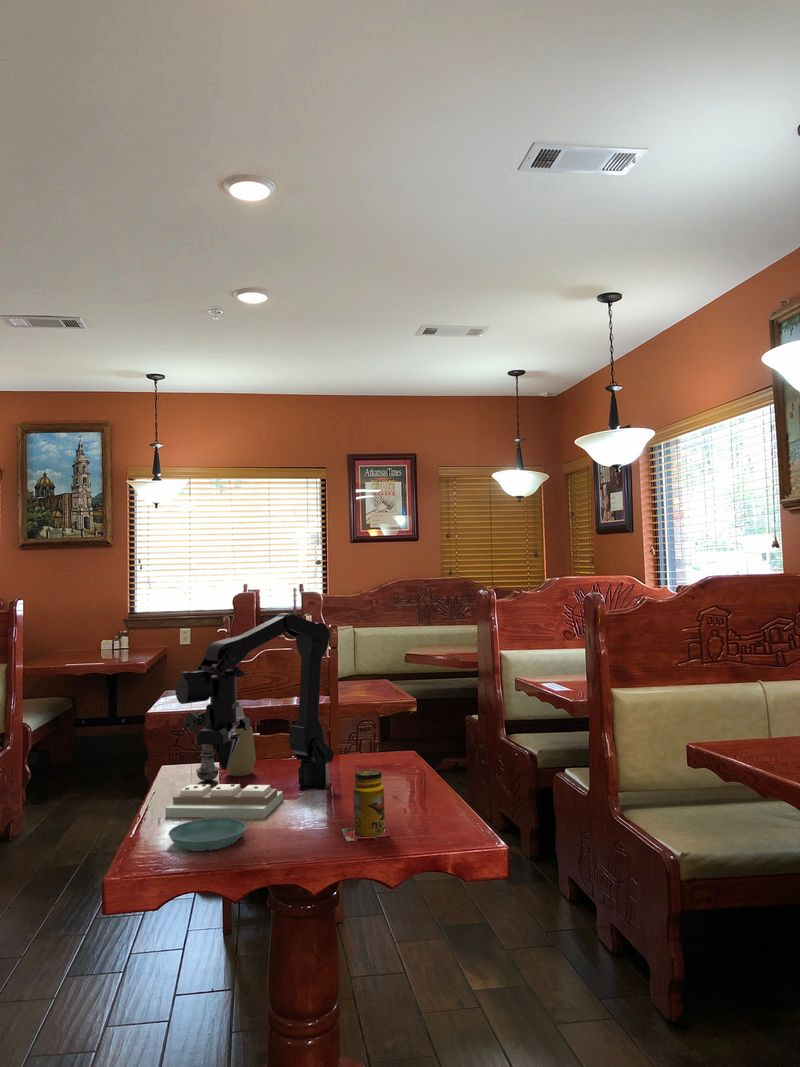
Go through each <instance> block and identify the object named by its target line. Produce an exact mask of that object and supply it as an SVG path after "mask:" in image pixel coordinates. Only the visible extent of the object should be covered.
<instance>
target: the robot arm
mask: <svg viewBox="0 0 800 1067" xmlns="http://www.w3.org/2000/svg"><path fill="white" fill-rule="evenodd" d="M330 632H331V631H330V628H329V627H328V626H327V625H326V624H325V623H324V622H314V621H311V620H309V619H306V618H302V617H300V616H297V615H296V614H294V613H293V612H292V613H291V612H288V613H286V612H282V613H281V612H280V613H279V614H277V615H276V616H275V617H273V618H271V619H269V620H267V621H265V622H263V623H261V624H259V625H256V626H255V627H253V628H251V629H249V630H248V631H246V632H243V633H242V634H240V635H237V636H233V637H229V638H228V637H227V638H224V639H220V640H217V641H213V642H211V643H210V644H208V646H207V647H206V651H205V656H203V659H202V660H201V662H200V663H199V665H198V666H197V668H196V669H195V671H181V672H180V673H179V676H180V677H179V678H178V680H177V682H176V685H175V690H174V691H175V697H176V699H177V701H178V703H179V704H181V705H185V704H193V703H201V702H206V701H208V700H210V702H209V703H207V705H206V708H205V711H203V712H201V713H198V714H197V712H195V711H193V712H190V713H187V714H185V715H184V719H183V725H182V726H183V728H186V729H187V731H188V733H189V734H190V733H193V732H195V731H196V730H199V731H198V732H197V733H196V734H195V736H194V738H195V742H194V743H195V745H202V744H211V745H212V746H213V749H214V751H215V754H216V757H217V759H218V762H219V765H220V769H221V770H222V771H223V770H228V769H227V768H228V766H229V764H230V761H231V759H232V756H233V754H234V751H235V749H236V747H237V744H238V742H239V740H240V738H241V736H242V735H241V734H236V731H234V729H242V728H243V729H244V731H245V730H248V729H250V726H251V720H250V719H249V717H247V716H244V717H237V707H238V706H239V704H240V701H239V700H238V701H237V678H239V677H245V675H246V674H245V672H243V671H242V670H241V669H240V668H239V666H238V665H239V664H240V663H241V662H243V661H244V660H245V659H246V658H247V656H248V655H249V654H250V653H251V652H252V651H253V650H255V649H257V648H259V647H262V646H263V645H264V644H266V643H268V642H270V641H272V640H274V639H276V638H277V637H280V636H282V635H283V634H285V633H286V634H287V635H288V636H291V637H292V638H295V644H296V649H297V651H298V654H299V656H300V659H301V662H300V664H301V665H300V681H299V696H298V697H299V698H298V700H299V701H298V702H299V703H298V718H297V720H296V722H295V724H294V725H291V724H290V725H289V726H288V732H289V733H288V735H289V736H288V740H287V743H289V748H290V749H291V751H292V752H293V754H294V757H295V758H296V760H297V761H300V765H299V767H298V768H297V769H298V773H297V774H298V785H299V786H298V789H299V790H326V789H327V788H328V786H330V784H331V783H332V782H331V780H329V779H330V777H329V774H330V773H329V772H330V771H329V763H331V762H333V761H334V755H335V752H334V751H333V750H332V749H331V748H330V747H329V746H328V744H326V742H325V731H324V729H323V726H322V724H321V722H320V714H319V713H320V697H321V696H320V694H321V680H322V679H321V676H322V675H321V674H322V659H323V657H324V656H325V654H326V652H327V651H328V650H327V649H328V648H329V642H330V638H331V635H330V634H331V633H330ZM202 728H203V729H202ZM200 729H201V730H200Z"/></svg>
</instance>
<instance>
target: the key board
mask: <svg viewBox="0 0 800 1067" xmlns="http://www.w3.org/2000/svg"><path fill="white" fill-rule="evenodd" d="M213 788H214V787H212V788H211V789H213ZM243 789H244V788H240V792H239V793H238V794H236V795H235V796H234V797H220V796H211V791H210V792H209V793H207V794H206V795H204V796H180V792H178V793H177V794H176V795H174V796H173V797H172V803H170V804H169V805H168V806H166V807H165V814H164V815H165V818H177V817H201V818H200V819H212V818H226V819H265V818H266V817H268V815H270V813H271V812H272V811H273V810H274V809H275V808H277V806H279V804H281V803H282V802H283V801H282V800H284V792H283V791H282V790H278V788H270V793H268V794H267V795H266V796H265V797H241V791H242V790H243ZM281 801H282V802H281ZM280 802H281V803H280Z"/></svg>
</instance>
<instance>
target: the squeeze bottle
mask: <svg viewBox="0 0 800 1067" xmlns="http://www.w3.org/2000/svg"><path fill="white" fill-rule="evenodd" d="M237 717H245V714H244V710H243V705H242V704H240V703H239V706H238V707H237ZM234 731H236V734H241V735H242V736H241V738H240V740H239V742H238V744H237V747H236V749H235V751H234V754H233V756H232V759H231V761H230V764H229V766H228V768H227V769H226V770H227V771H228V772H227V773H228V775H229V776H232V777H233V776H234V777H243V776H244V777H245V776H248V775H251V774H252V773H253V770H254V767H255V763H256V760H257V758H256V747H255V742H254V734H253V733H254V731H253V727H252V726H251V725H250V729H248V730H245V731H244V729H243V728H242V729H234Z"/></svg>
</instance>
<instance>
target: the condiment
mask: <svg viewBox="0 0 800 1067" xmlns="http://www.w3.org/2000/svg"><path fill="white" fill-rule="evenodd" d="M354 778H355V779H354V783H355V784H354V787H353V790H352V791H353V818H354V819H353V820H354V821H353V822H354V823H353V824H354V827H352V828H348V827H346V828H341V832H342V834H343V837H344V836H345V837H344V838H345V840H346V841H347V842H351V841H358V840H357V839H356V840H354V839H355V838H354V839H351V837H350V836H348V835H347V836H346V833H347V832H350V831H351V830H352V831H353V829H355V835H357V836H360V837H377V836H380V835H382V834H384V833H385V830H386V820H385V819H386V816H385V815H386V812H385V789H384V784H382V783H383V779H382V778H383V777H382V772H381V770H378V769H371V768H368V769H367V768H366V769H360V770H358V771H356V772H355V773H354ZM352 835H353V834H352Z"/></svg>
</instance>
